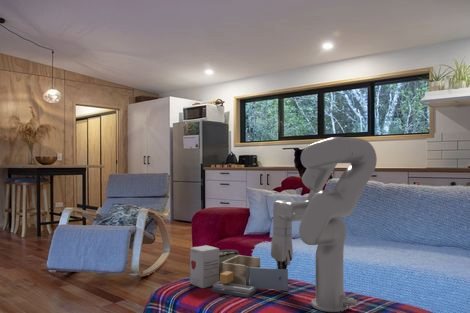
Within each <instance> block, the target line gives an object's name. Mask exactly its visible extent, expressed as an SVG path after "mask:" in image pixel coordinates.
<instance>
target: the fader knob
mask: <svg viewBox="0 0 470 313" xmlns="http://www.w3.org/2000/svg"><path fill="white" fill-rule="evenodd" d="M219 281H220V282H221V283H225V285H229V282H231V281H233V272H230V271H225V272H223V273H221V274H220V276H219Z"/></svg>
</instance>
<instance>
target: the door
mask: <svg viewBox="0 0 470 313" xmlns="http://www.w3.org/2000/svg"><path fill="white" fill-rule="evenodd" d="M246 285H247V286H253V287H255V288H256V289H257V290H258V289H259V290H276V291H288V290H289V269H288V268H287V269H278V268H273V267H260V268H256V267H250V285H249V267H248V266H246Z"/></svg>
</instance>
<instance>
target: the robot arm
mask: <svg viewBox="0 0 470 313" xmlns="http://www.w3.org/2000/svg"><path fill="white" fill-rule="evenodd" d="M377 159H378V158H377V153H376V150H375V148H374V146H373V145H372V143H370V142H369V141H367V140H365V139H363V138H359V137H344V136H333V137H328V138H325V139H323V140H319V141H316V142H313V143H311V144H309V145H307V146H306V147H305V148H304V149H303V150H302V151H301V154H300V162H301V165H302V166H303V167H304V168H306V169H305V171H304V173H303V174H302V176H301V182H302V184H303V185H304V186H305V187H306V188H307V189H309V194H308V195H307V197H306V199H305V200H301V201H300V200H297V201H290V200H283V199H282V200H281V199H279V200H274V202H273V203H272V204H273V205H272V206H273V207H272V209H273V210H272V237H271V244H270V246H271V247H270V256H271V258H272V259H274V260H275V261H276V267H277V269H288V266H290V265H291V261H293V253H294V251H293V238H292V235H293V234H292V233H293V228H292V227H293V222H300V224H299V229H298V234H299V237H300V240H301V241H302V242H303V243H304V244H306V245H308V246H316V250H315V259H314V260H315V262H314V263H315V266H314V267H315V298H313V299H311V302H310V305H311V307H312V308H314V309H316V310H318V311H320V312H321V311H322V312H328V313H341V312H345V311H347V310H348V309H349V306H352V307H357V305H358V304H357V303H358V302H357V299H355V298H354V297H348V296H346V295H347V292H344V254H345V253H344V251H345V241H346V235H347V226H346V223H345V221H344V220H343V219H342V218H346V217H349V216H350V215H352V213H353V212H354V211H355V210H354V209H355V208H356V206H357V204H358V202H359V200H360V198H361V196H362V194H363V192H364V190H365V188H366V187H367V184H368V183H369V181H370V179H371V178H372V176H373V174H374V172H375V170H376V166H377V161H378V160H377ZM338 164H350V165H349V166H348V168H346V169H345V170H344V171H343V173H342V174H341V175H340V176H339V179H338V181H337V183H336V185H335V187H334V188H333V189H332V188H331V189H324V186H326V183H327V181H328V180H329V178H330V176H331V175H332V173H333V171H334V170H335V168H336V166H337V165H338ZM323 189H324V190H323ZM346 309H347V310H346ZM344 310H345V311H344ZM340 311H341V312H340Z"/></svg>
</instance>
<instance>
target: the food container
mask: <svg viewBox="0 0 470 313" xmlns="http://www.w3.org/2000/svg"><path fill="white" fill-rule="evenodd" d="M237 255H240V253H239V250H236V249H221V250H220V249H219V277H220V263H221V262H223V261H226V260H228V259H230V258H232V257H235V256H237Z"/></svg>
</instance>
